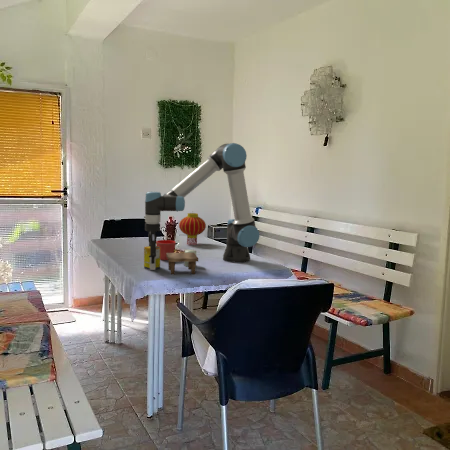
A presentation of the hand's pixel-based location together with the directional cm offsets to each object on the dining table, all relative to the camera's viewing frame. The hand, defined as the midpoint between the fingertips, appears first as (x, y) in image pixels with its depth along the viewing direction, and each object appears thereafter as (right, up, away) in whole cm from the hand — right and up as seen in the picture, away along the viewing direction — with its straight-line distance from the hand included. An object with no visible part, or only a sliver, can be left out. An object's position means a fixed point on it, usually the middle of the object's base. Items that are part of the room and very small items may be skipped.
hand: (151, 267), depth 244 cm
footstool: (+15, -2, -5) cm, 16 cm away
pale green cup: (+19, 0, +8) cm, 20 cm away
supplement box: (0, -1, 0) cm, 0 cm away
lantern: (+15, +9, +69) cm, 72 cm away
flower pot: (+4, +3, +23) cm, 24 cm away
